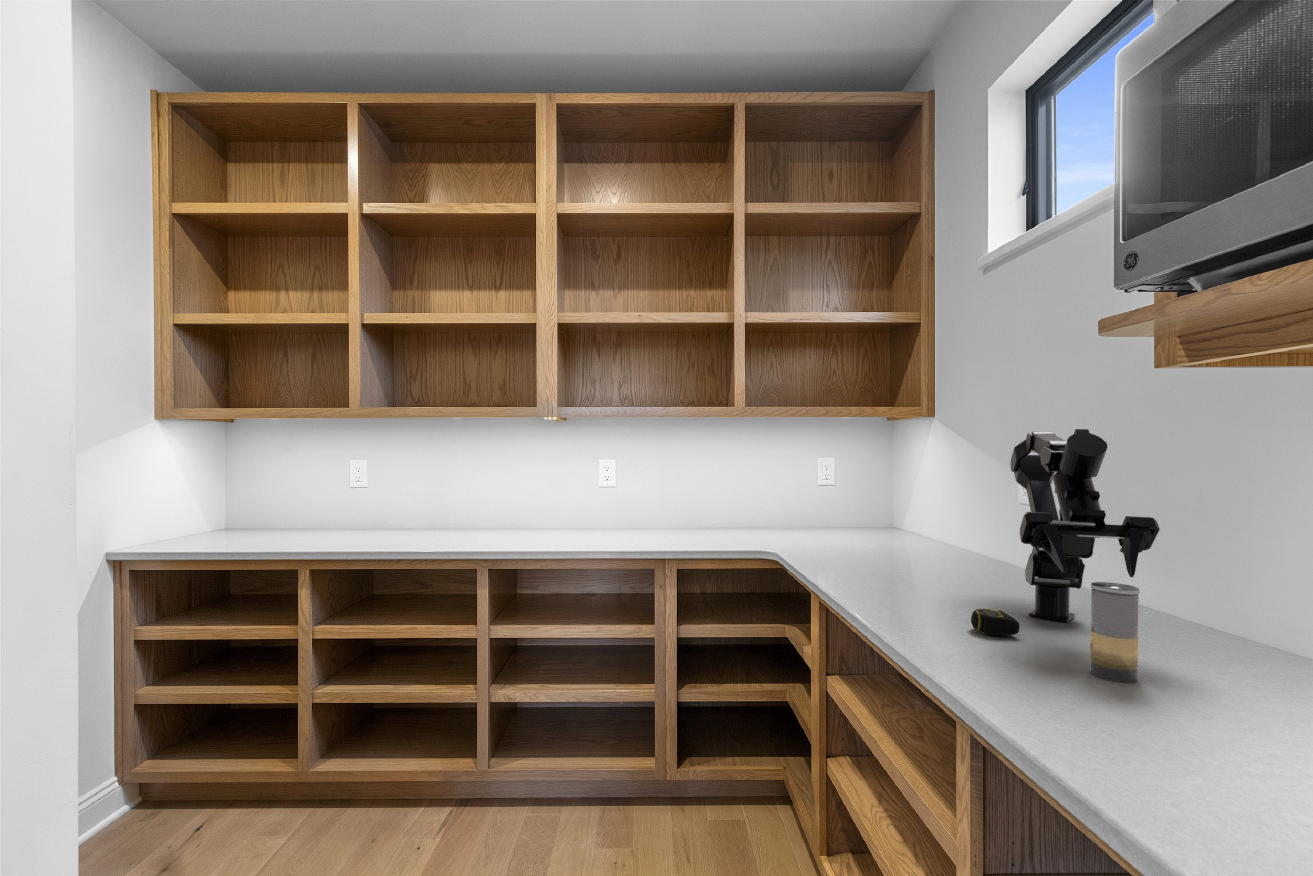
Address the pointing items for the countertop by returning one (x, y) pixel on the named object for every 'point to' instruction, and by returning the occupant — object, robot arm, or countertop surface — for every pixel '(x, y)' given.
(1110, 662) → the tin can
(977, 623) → the tape measure
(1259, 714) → the countertop surface
